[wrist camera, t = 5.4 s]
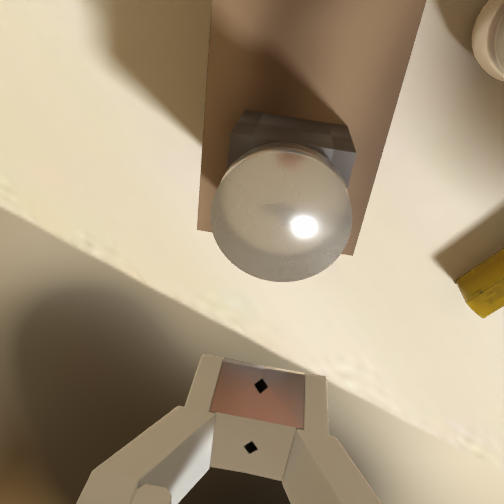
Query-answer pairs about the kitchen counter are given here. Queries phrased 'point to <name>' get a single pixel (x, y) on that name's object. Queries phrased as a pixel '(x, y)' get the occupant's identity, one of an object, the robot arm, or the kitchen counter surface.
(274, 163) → the grey plunger
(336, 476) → the robot arm
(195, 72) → the kitchen counter surface
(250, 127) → the stand
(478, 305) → the medication box
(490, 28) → the plastic bottle
